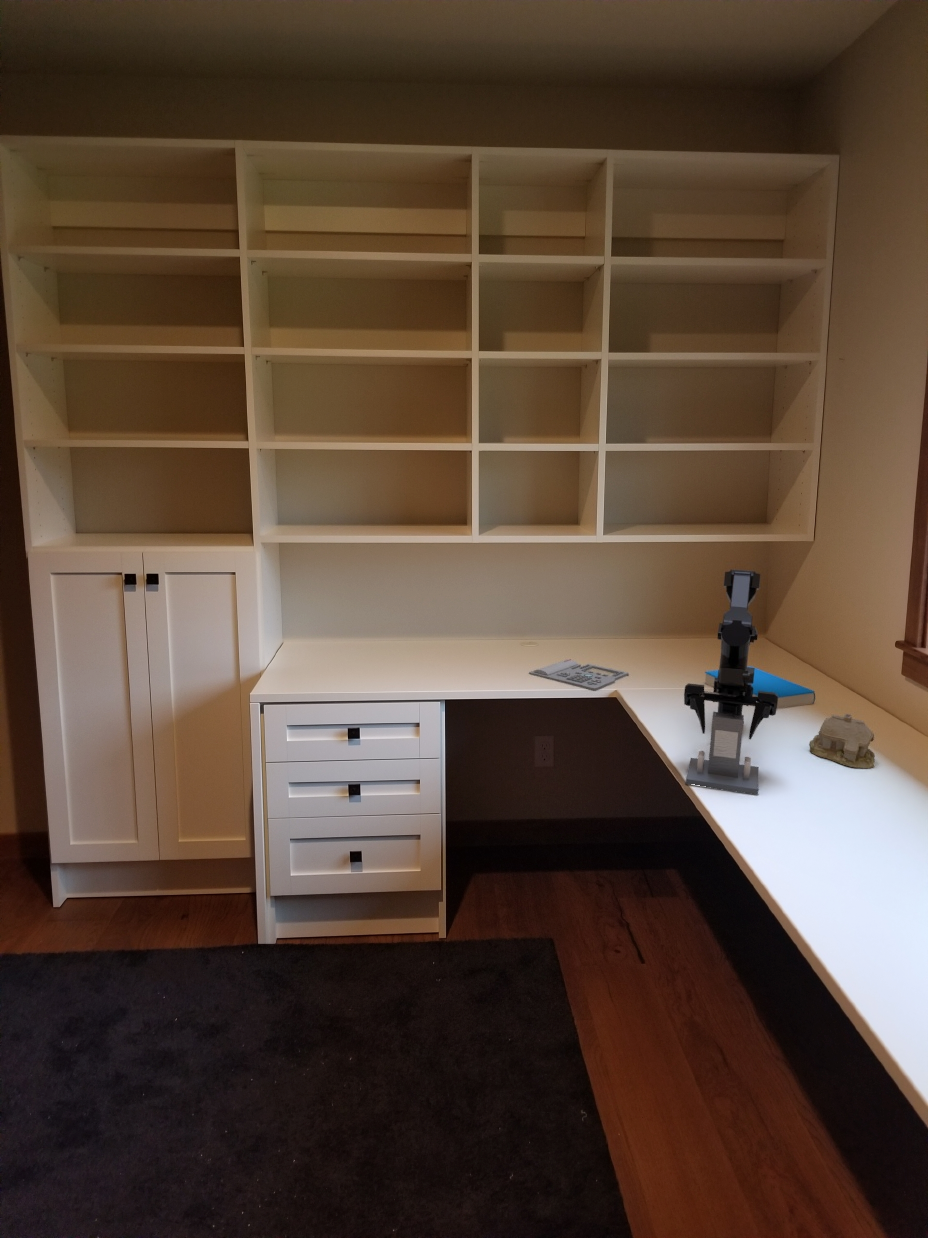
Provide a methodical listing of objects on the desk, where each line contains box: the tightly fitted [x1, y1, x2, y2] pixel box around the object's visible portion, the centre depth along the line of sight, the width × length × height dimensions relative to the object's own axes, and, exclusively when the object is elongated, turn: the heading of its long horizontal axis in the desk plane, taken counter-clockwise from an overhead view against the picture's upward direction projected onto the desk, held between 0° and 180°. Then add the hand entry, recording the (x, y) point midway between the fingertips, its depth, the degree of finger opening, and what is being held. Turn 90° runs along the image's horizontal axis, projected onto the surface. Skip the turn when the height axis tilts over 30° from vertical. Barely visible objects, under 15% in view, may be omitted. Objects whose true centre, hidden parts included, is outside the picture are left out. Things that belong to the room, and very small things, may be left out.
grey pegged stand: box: [685, 750, 760, 795], centre depth 173 cm, size 12×14×5 cm
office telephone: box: [528, 659, 630, 692], centre depth 245 cm, size 23×3×20 cm
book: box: [704, 665, 816, 710], centre depth 230 cm, size 17×4×25 cm
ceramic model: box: [808, 713, 876, 769], centre depth 185 cm, size 14×11×10 cm
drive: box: [708, 711, 745, 778], centre depth 172 cm, size 3×6×12 cm, turn 71°
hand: (726, 735), depth 173 cm, fingers open, 9 cm apart
